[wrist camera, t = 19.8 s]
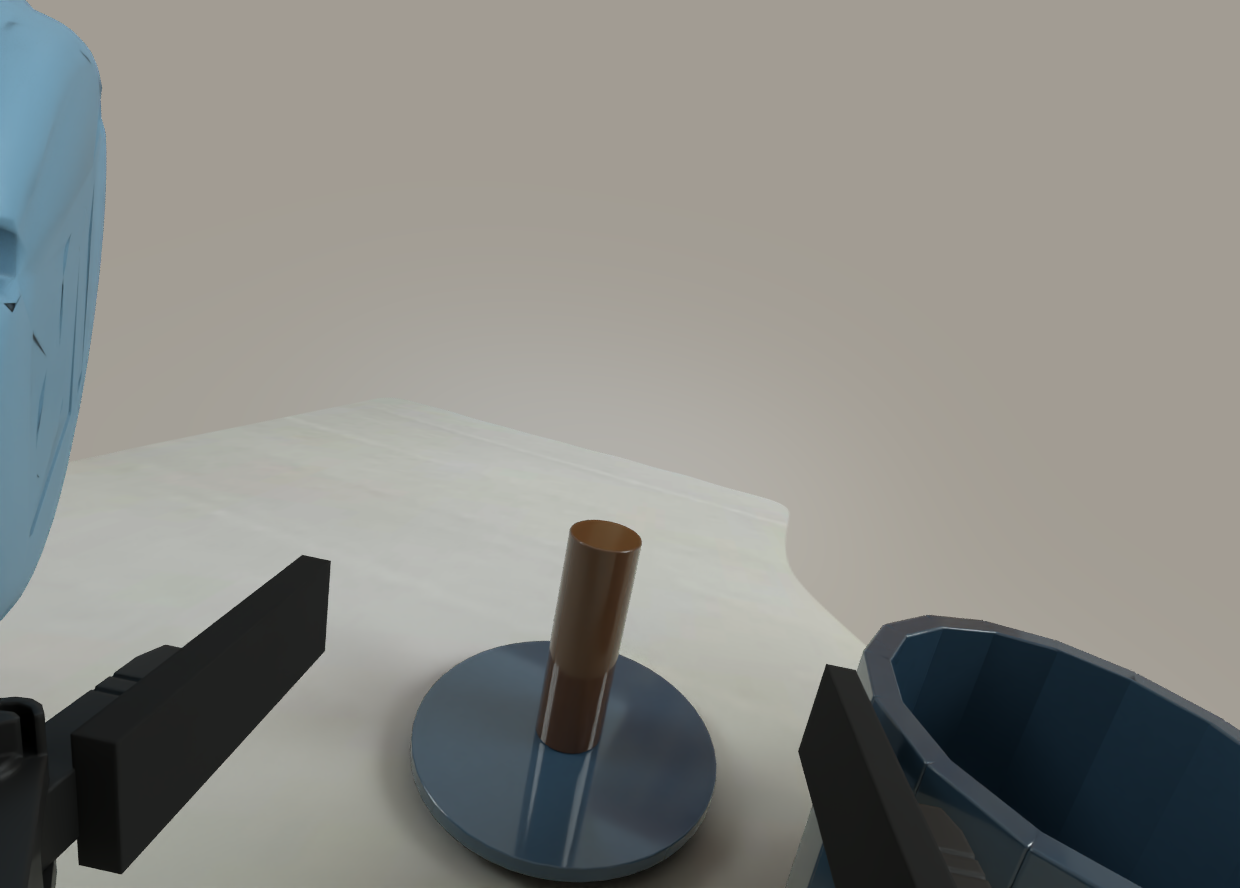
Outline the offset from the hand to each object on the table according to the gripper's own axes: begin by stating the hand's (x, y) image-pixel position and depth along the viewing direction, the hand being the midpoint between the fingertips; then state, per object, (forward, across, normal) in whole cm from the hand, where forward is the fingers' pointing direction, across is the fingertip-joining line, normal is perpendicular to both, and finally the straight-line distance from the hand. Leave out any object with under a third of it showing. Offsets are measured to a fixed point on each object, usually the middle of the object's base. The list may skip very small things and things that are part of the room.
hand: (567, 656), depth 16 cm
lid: (+8, 0, -10) cm, 12 cm away
